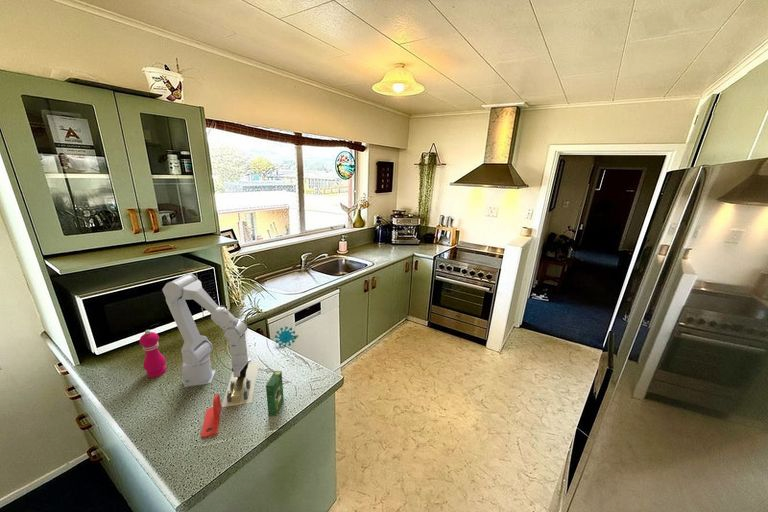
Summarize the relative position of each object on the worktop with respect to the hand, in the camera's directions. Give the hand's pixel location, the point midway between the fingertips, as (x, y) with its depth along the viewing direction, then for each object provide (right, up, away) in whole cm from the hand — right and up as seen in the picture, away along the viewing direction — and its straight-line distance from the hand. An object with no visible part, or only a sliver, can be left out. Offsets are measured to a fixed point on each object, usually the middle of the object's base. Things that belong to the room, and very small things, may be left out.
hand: (242, 379), depth 116 cm
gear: (+9, +6, +27) cm, 29 cm away
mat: (0, -1, 0) cm, 2 cm away
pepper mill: (-37, +1, +4) cm, 38 cm away
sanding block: (+1, -3, -5) cm, 6 cm away
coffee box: (+18, -6, -11) cm, 21 cm away
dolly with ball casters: (+2, -3, -5) cm, 6 cm away
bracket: (-2, -7, -18) cm, 19 cm away
